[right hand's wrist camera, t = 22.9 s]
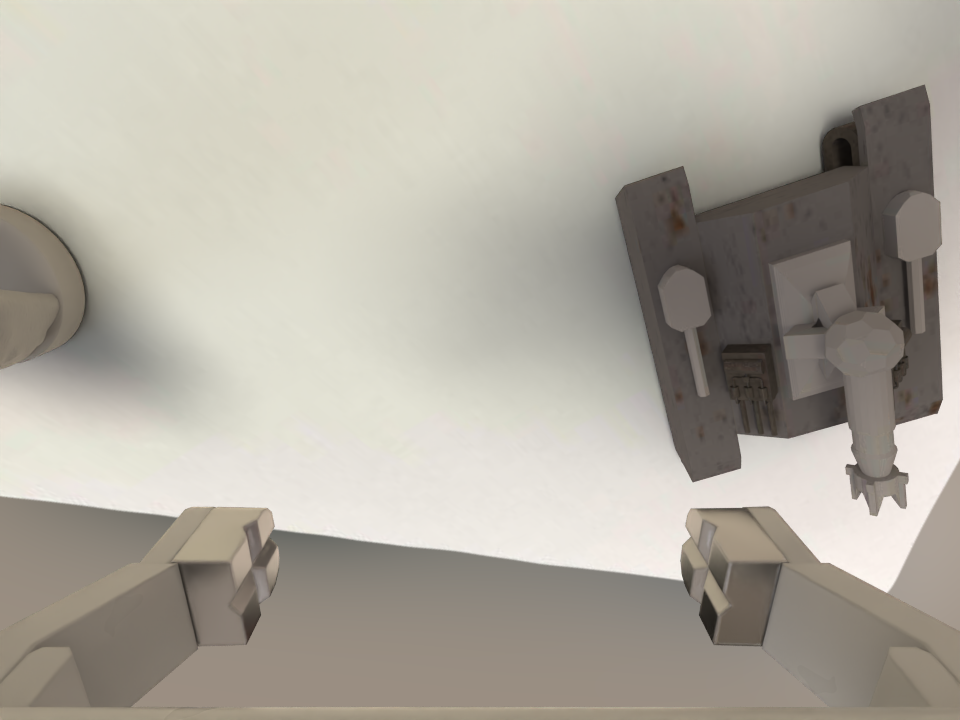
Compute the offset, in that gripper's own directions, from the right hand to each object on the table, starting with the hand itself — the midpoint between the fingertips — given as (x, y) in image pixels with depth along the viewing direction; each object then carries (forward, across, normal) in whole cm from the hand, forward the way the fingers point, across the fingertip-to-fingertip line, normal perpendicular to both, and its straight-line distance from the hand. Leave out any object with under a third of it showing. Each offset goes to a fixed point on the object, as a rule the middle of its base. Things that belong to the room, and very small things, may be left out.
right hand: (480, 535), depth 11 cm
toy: (+36, +24, -4) cm, 43 cm away
